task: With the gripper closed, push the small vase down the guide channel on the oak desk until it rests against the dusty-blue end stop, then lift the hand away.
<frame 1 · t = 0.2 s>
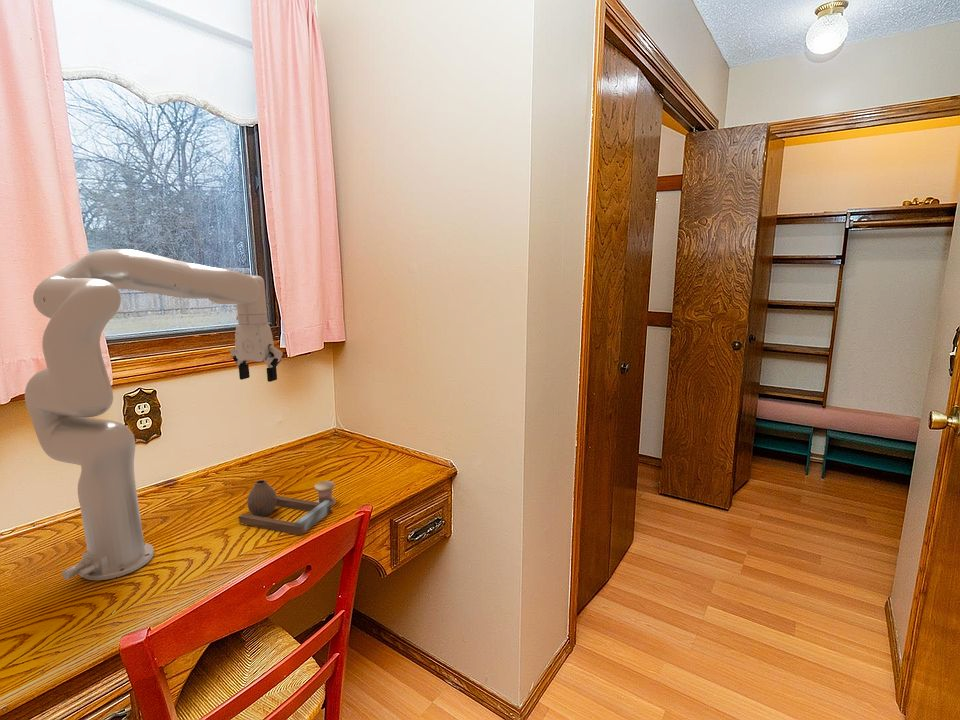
hand: (258, 379, 141), 31 cm above the table, tool pointing down, fingers open, 9 cm apart
thread spool: (325, 503, 131), on the table
guide channel: (286, 517, 124), on the table
vase: (263, 514, 126), on the table
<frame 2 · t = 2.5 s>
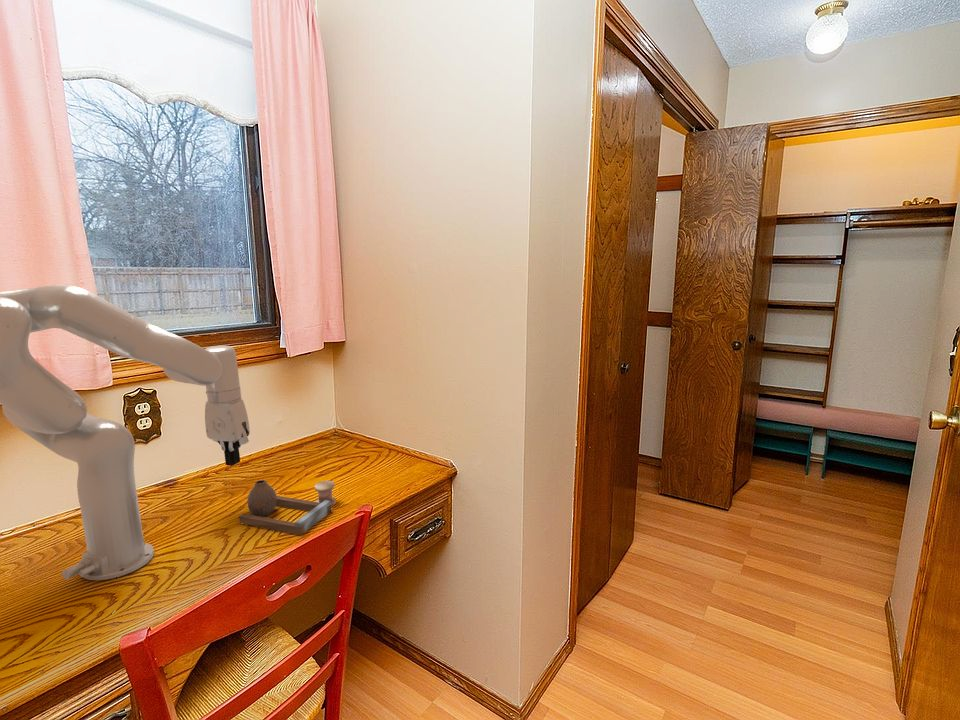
hand: (233, 463, 127), 12 cm above the table, tool pointing down, fingers closed
nothing on the table moved.
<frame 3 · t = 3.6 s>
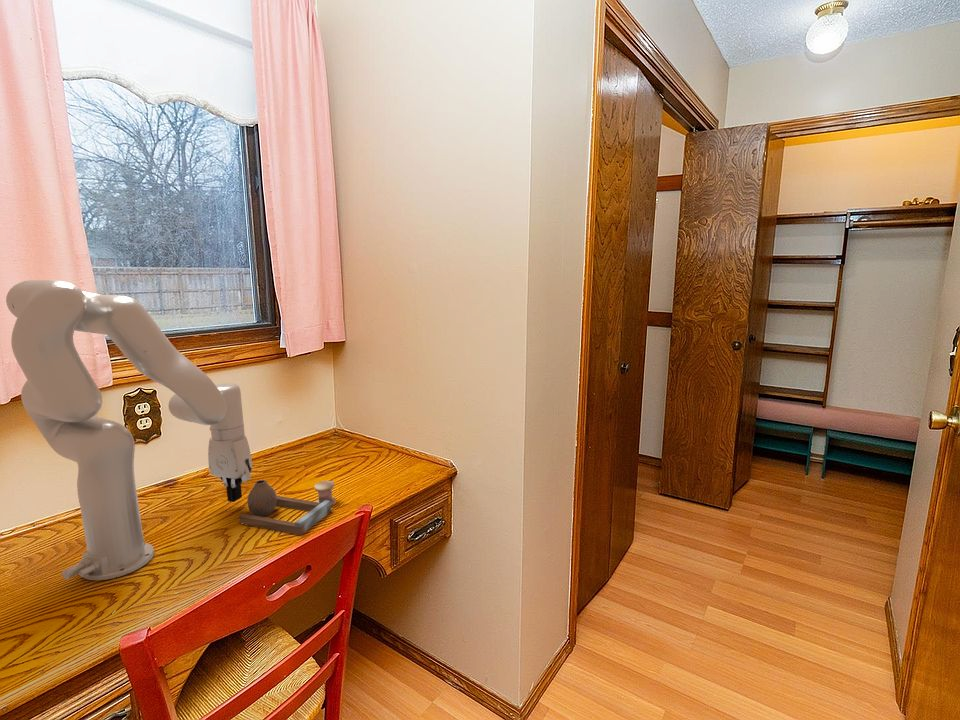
hand: (235, 499, 128), 3 cm above the table, tool pointing down, fingers closed
nothing on the table moved.
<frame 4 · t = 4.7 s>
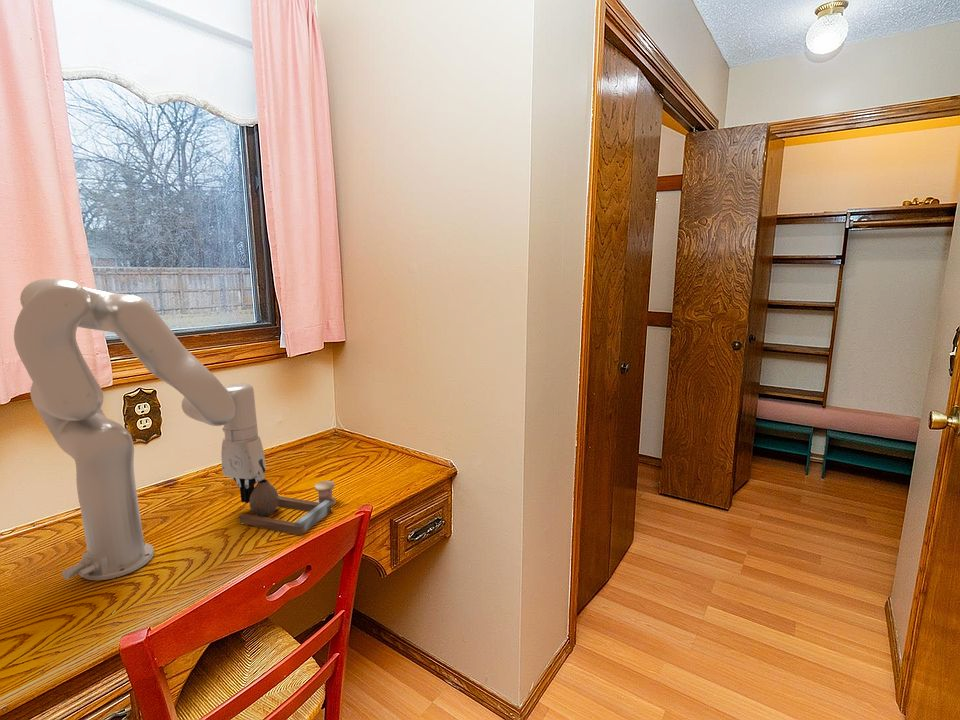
hand: (248, 500, 127), 3 cm above the table, tool pointing down, fingers closed
vase: (265, 513, 126), on the table, touching gripper
everything else where it was.
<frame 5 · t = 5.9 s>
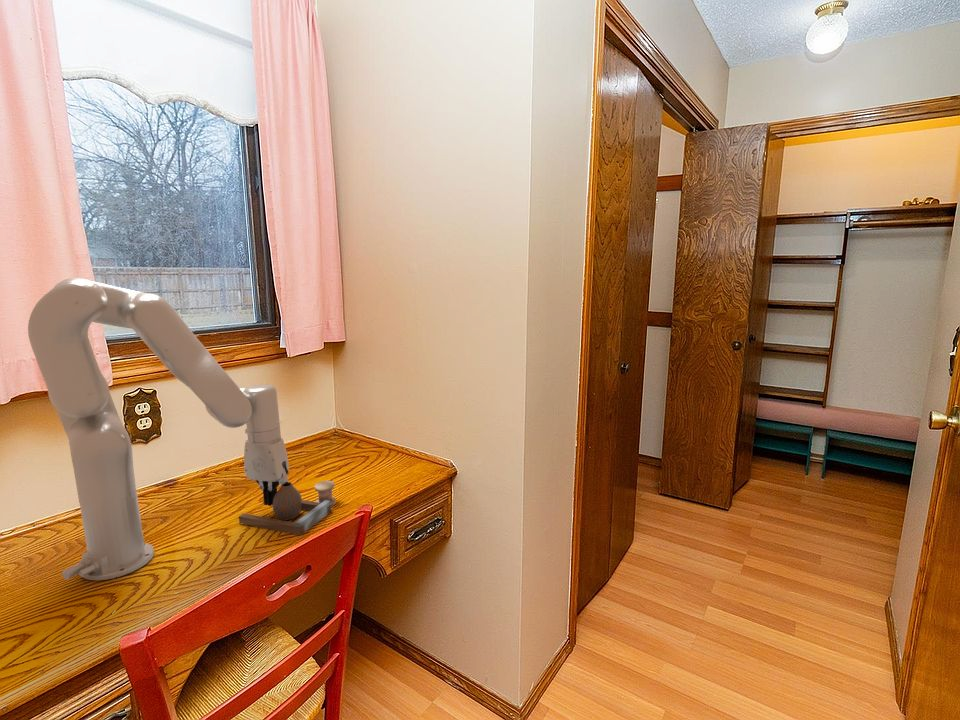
hand: (271, 502, 125), 3 cm above the table, tool pointing down, fingers closed
vase: (287, 516, 124), on the table, touching gripper
everything else where it was.
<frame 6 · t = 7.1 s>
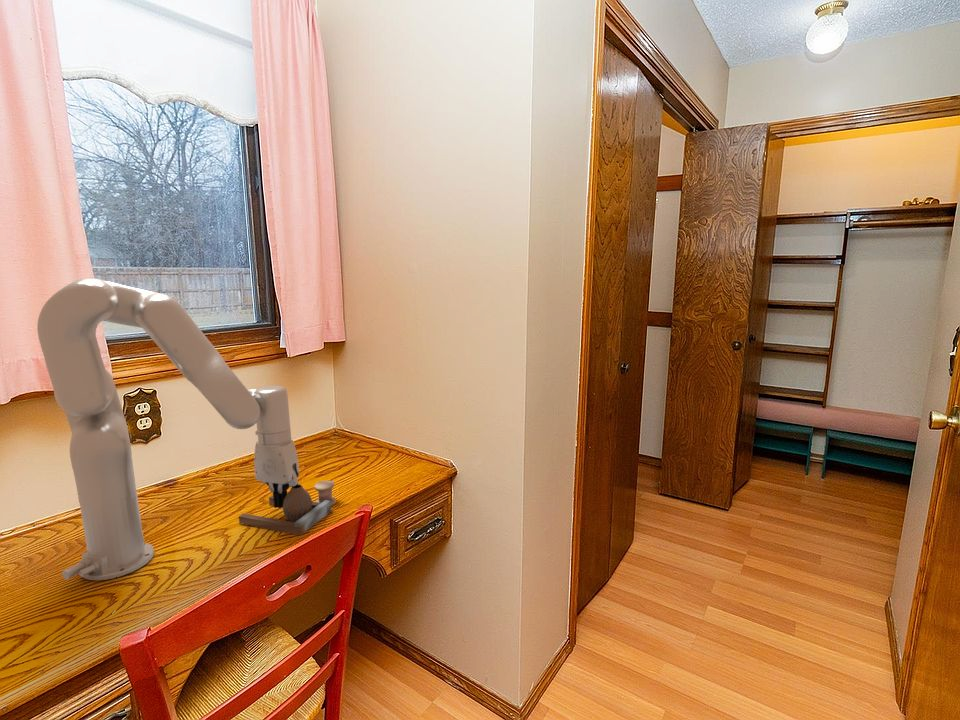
hand: (281, 505, 124), 3 cm above the table, tool pointing down, fingers closed
vase: (298, 519, 123), on the table, touching gripper
everything else where it was.
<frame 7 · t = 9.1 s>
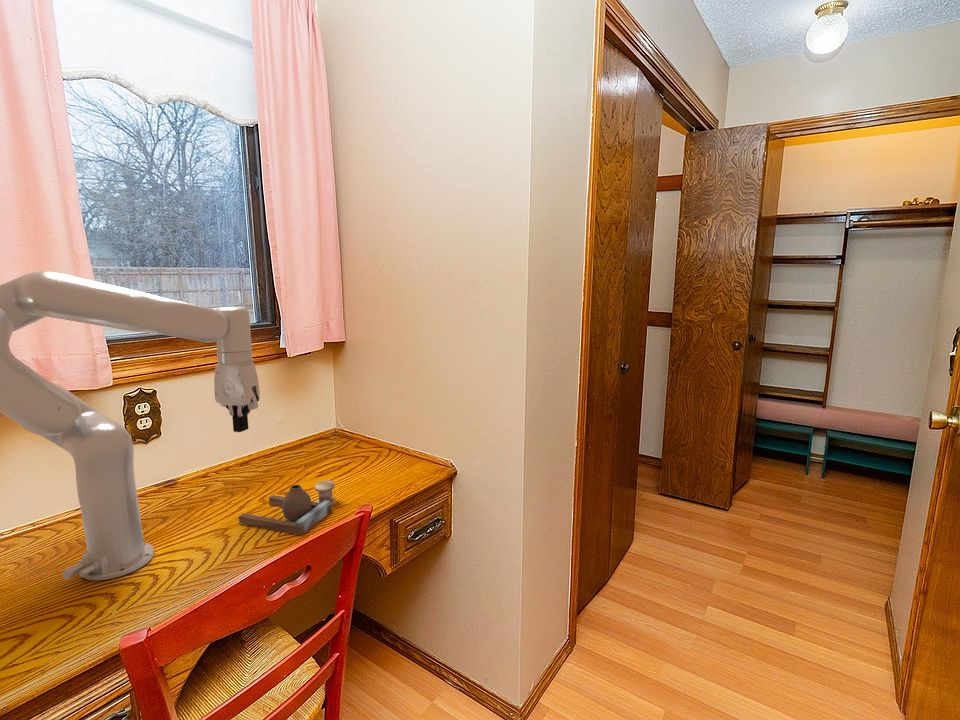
hand: (241, 430, 122), 22 cm above the table, tool pointing down, fingers closed
vase: (298, 520, 123), on the table
everything else where it was.
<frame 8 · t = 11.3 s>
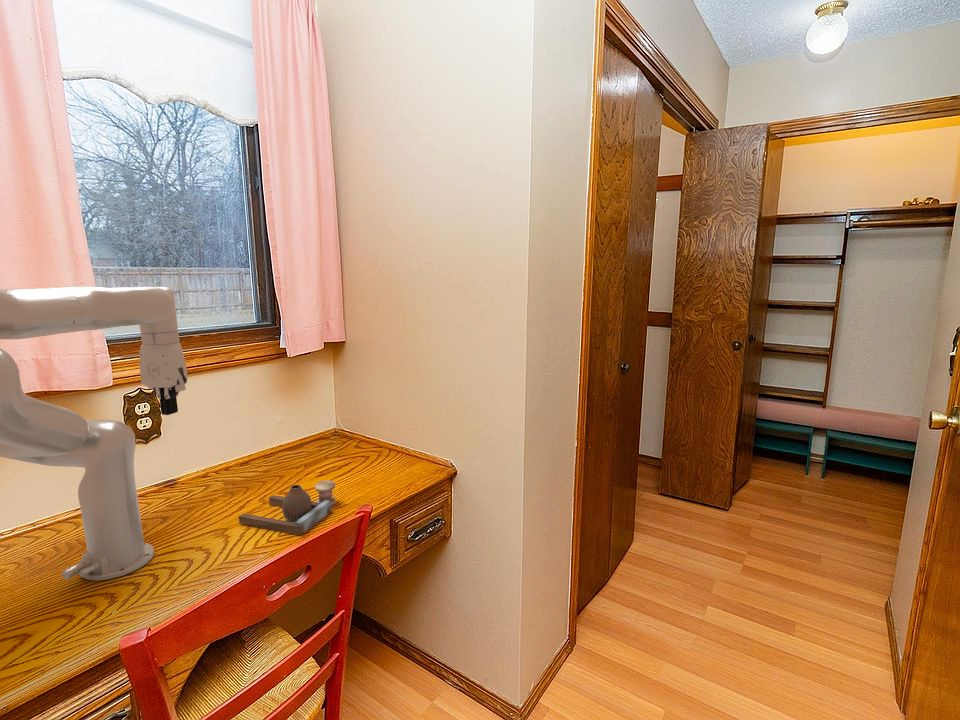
hand: (169, 413, 120), 27 cm above the table, tool pointing down, fingers closed
nothing on the table moved.
at the end: vase inside the target area (0.2 cm from its centre), on the table; vase tilted 0°; vase moved 10.4 cm from its start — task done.
